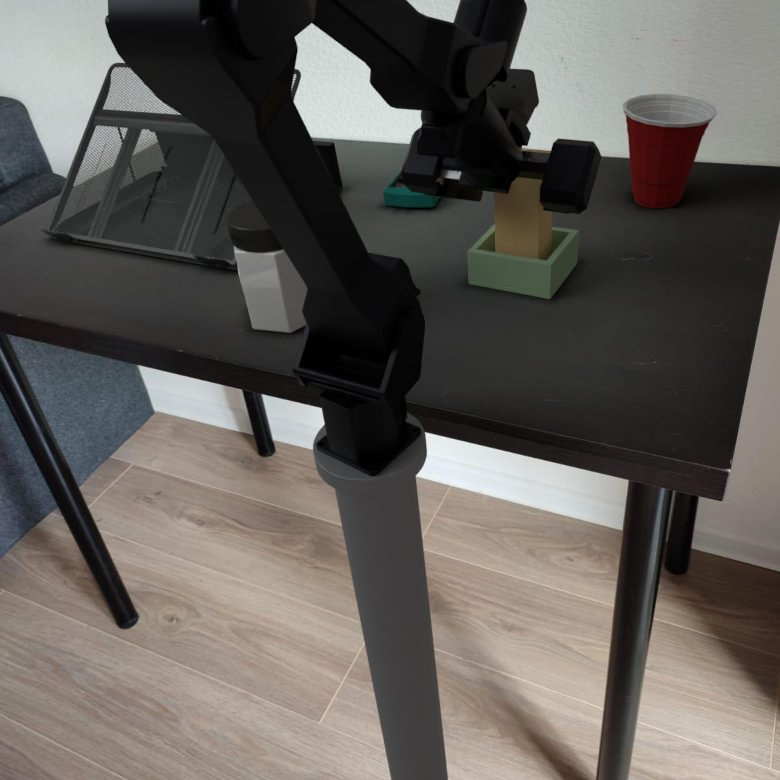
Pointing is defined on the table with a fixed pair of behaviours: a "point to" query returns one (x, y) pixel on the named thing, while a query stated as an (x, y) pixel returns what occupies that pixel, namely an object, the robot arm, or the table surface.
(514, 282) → the sage green storage bin
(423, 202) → the digital multimeter
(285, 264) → the jar
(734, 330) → the table surface
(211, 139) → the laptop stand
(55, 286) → the table surface
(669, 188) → the plastic cup
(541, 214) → the tan rectangular block
